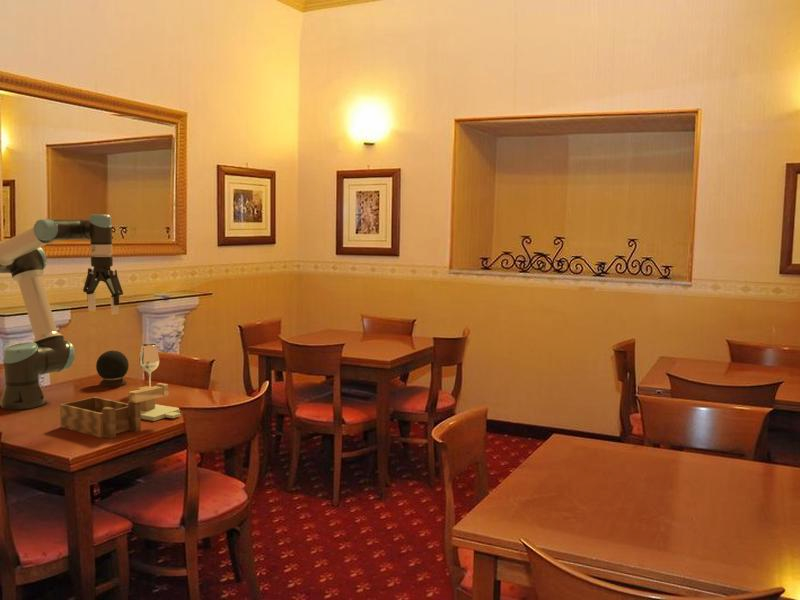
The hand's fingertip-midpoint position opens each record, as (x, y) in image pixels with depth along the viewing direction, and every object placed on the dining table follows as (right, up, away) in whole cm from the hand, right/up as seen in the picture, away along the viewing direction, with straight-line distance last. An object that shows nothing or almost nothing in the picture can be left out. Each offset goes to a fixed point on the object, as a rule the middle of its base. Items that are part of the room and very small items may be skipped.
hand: (103, 312), depth 283 cm
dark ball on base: (-13, -32, +44) cm, 56 cm away
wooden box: (+8, -40, -23) cm, 46 cm away
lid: (+19, -38, -3) cm, 42 cm away
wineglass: (+7, -34, +31) cm, 46 cm away
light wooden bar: (+24, -30, -20) cm, 43 cm away
